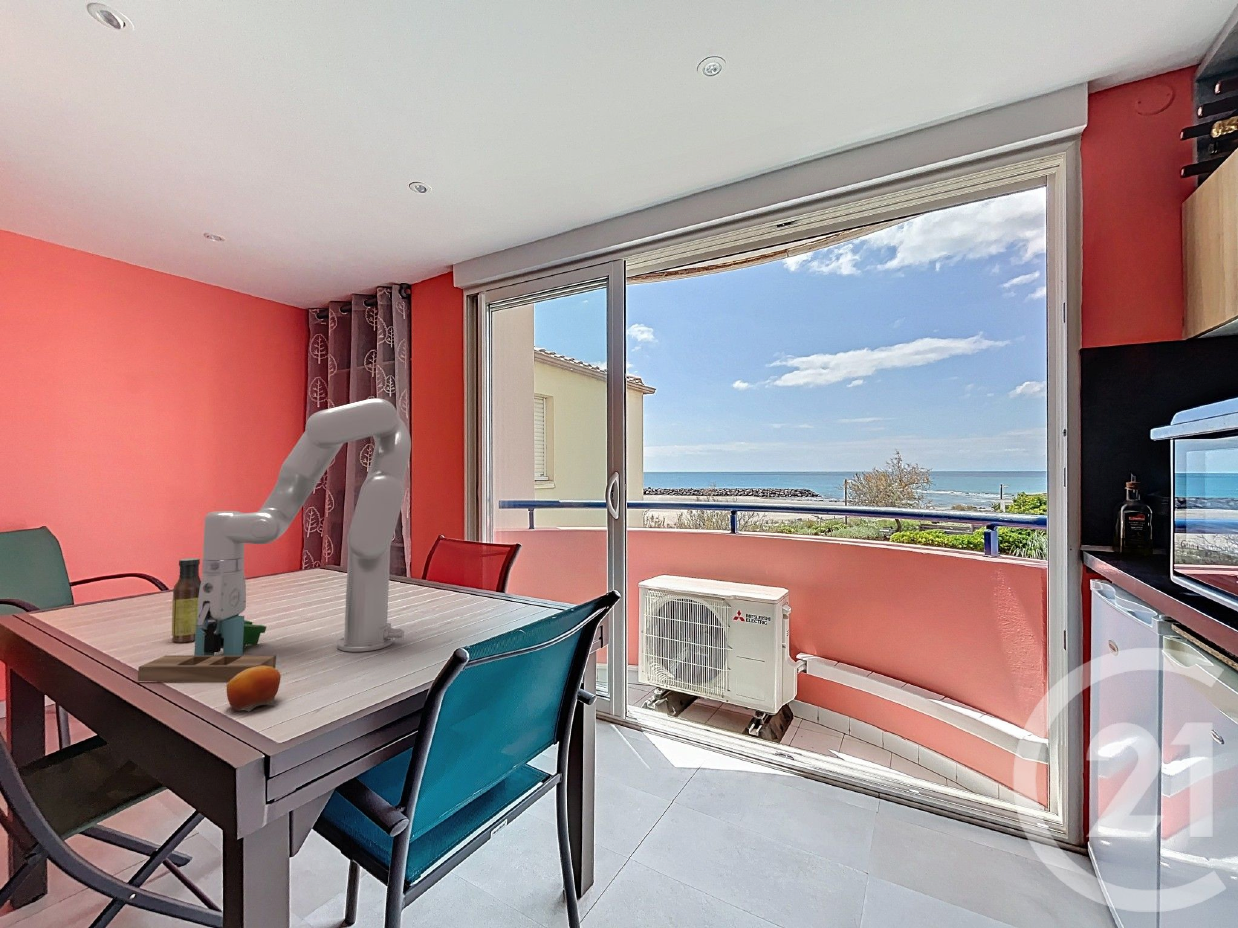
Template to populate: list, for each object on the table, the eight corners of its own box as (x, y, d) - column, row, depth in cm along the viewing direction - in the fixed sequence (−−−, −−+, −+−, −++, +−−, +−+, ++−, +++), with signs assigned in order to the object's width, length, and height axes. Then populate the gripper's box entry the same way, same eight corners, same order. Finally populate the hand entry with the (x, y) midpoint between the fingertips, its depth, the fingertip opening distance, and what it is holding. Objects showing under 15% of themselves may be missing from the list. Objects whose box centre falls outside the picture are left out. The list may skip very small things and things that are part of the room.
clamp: (253, 664, 129) (271, 631, 130) (225, 665, 124) (244, 630, 125) (237, 636, 136) (254, 604, 136) (210, 635, 131) (228, 603, 132)
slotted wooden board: (164, 669, 112) (165, 655, 113) (275, 669, 114) (276, 655, 114) (137, 682, 106) (138, 666, 106) (256, 681, 107) (256, 666, 107)
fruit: (244, 713, 90) (235, 666, 92) (224, 727, 93) (216, 682, 96) (295, 697, 97) (284, 654, 99) (274, 711, 100) (265, 669, 103)
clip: (205, 655, 122) (207, 615, 122) (242, 655, 123) (244, 615, 123) (193, 660, 118) (196, 619, 119) (232, 660, 119) (234, 619, 119)
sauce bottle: (209, 638, 135) (213, 558, 136) (182, 644, 129) (186, 561, 130) (191, 635, 137) (195, 556, 138) (163, 641, 131) (168, 559, 132)
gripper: (216, 572, 113) (212, 660, 113) (262, 561, 130) (258, 637, 129) (178, 572, 113) (173, 661, 112) (229, 560, 129) (225, 637, 129)
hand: (219, 647), depth 121 cm, fingers open, 3 cm apart
